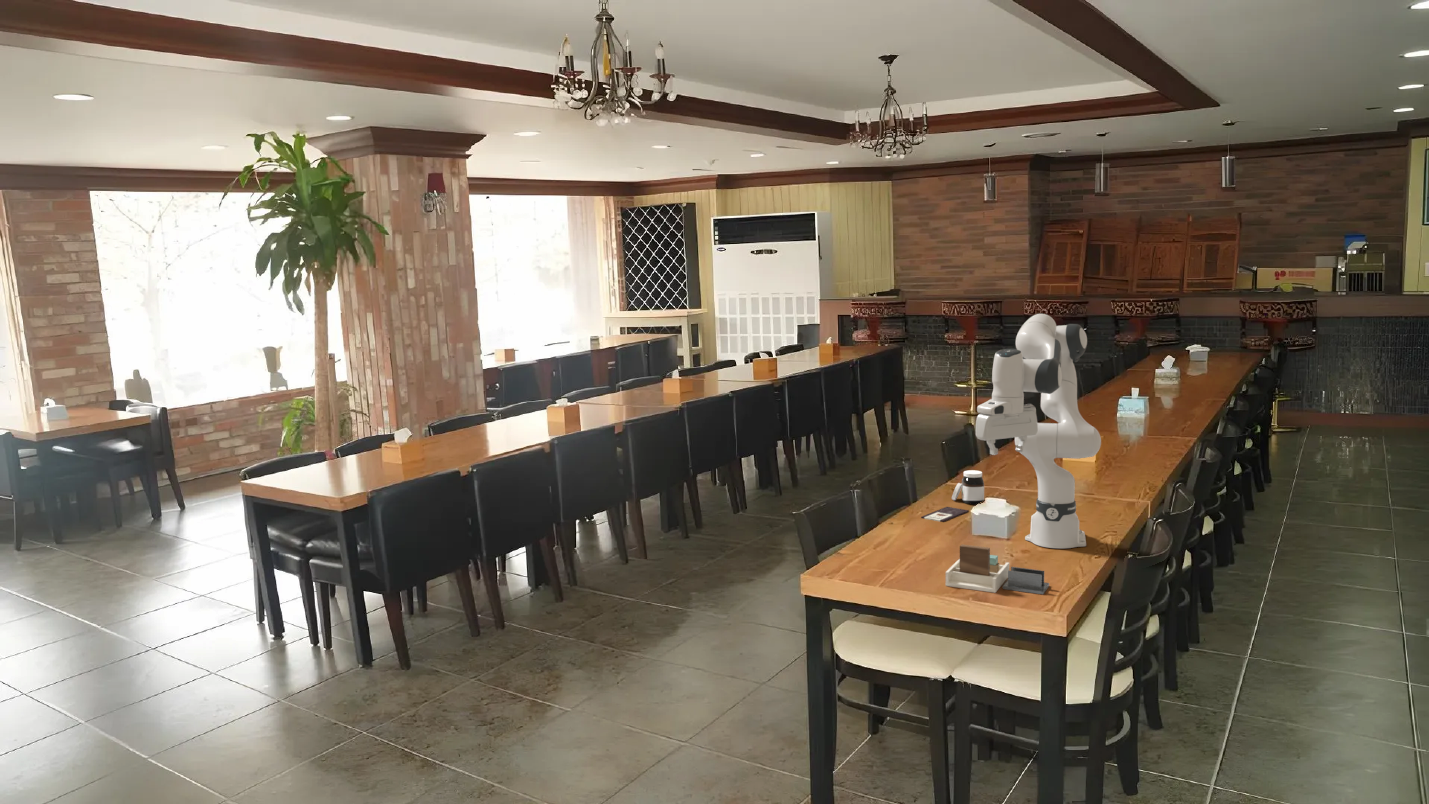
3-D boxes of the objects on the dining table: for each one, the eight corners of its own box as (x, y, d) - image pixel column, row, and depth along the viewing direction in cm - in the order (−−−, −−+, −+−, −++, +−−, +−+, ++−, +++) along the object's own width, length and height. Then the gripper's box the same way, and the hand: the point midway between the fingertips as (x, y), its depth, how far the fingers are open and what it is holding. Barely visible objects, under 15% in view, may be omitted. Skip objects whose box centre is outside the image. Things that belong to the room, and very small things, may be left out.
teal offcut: (973, 559, 284) (973, 552, 284) (997, 562, 280) (997, 555, 280) (970, 562, 281) (971, 555, 281) (995, 565, 278) (995, 558, 278)
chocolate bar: (968, 510, 353) (943, 520, 340) (968, 512, 353) (943, 523, 340) (946, 506, 359) (921, 516, 346) (946, 509, 359) (921, 519, 346)
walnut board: (961, 578, 277) (961, 544, 276) (989, 581, 273) (989, 547, 272) (959, 580, 275) (959, 546, 274) (987, 584, 271) (988, 549, 270)
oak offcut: (968, 568, 285) (968, 559, 284) (999, 572, 280) (999, 562, 280) (965, 571, 282) (965, 561, 282) (996, 575, 278) (996, 565, 277)
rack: (961, 569, 288) (961, 556, 287) (1009, 575, 281) (1009, 562, 280) (945, 585, 274) (945, 572, 273) (995, 592, 267) (995, 578, 266)
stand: (1009, 580, 277) (1009, 564, 276) (1049, 585, 271) (1049, 569, 270) (1002, 588, 270) (1002, 572, 269) (1043, 594, 264) (1043, 577, 264)
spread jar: (986, 505, 361) (986, 474, 359) (955, 506, 361) (956, 475, 360) (978, 497, 373) (978, 468, 371) (948, 498, 373) (948, 468, 371)
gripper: (1027, 402, 285) (1027, 448, 287) (972, 407, 277) (971, 454, 279) (1043, 404, 280) (1042, 451, 282) (987, 409, 271) (986, 457, 273)
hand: (1006, 453), depth 280 cm, fingers open, 8 cm apart
